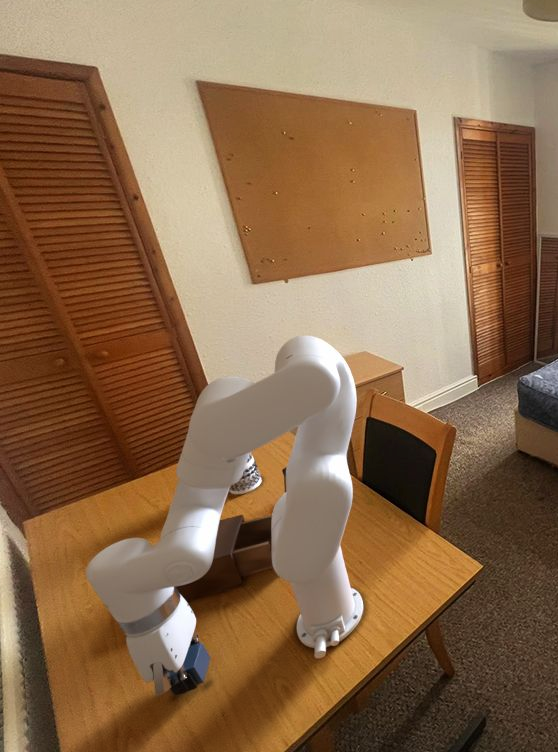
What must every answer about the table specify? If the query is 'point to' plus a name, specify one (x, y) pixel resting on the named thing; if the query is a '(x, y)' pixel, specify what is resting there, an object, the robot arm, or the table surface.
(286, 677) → the table surface
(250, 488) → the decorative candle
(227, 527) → the cabinet
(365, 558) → the table surface
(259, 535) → the drawer
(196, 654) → the block
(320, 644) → the robot arm
